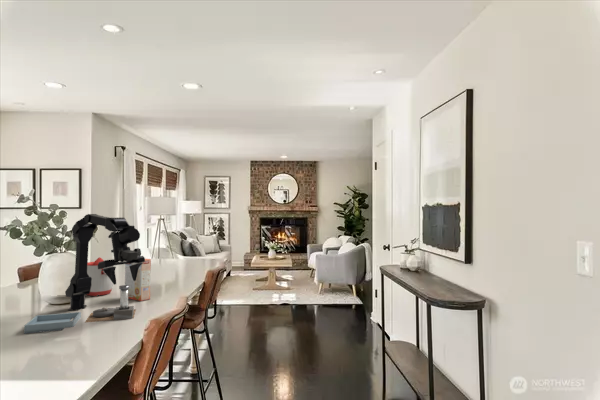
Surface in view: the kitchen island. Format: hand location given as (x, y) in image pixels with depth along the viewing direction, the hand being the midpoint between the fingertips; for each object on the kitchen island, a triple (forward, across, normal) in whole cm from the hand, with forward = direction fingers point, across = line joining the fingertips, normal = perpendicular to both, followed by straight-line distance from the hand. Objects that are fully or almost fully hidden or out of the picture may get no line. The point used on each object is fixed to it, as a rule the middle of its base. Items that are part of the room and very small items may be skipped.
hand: (125, 282), depth 158 cm
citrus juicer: (+2, +23, +56) cm, 61 cm away
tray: (+11, -20, +19) cm, 30 cm away
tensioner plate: (+13, -1, +10) cm, 17 cm away
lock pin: (+14, 0, +4) cm, 14 cm away
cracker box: (+8, +27, +31) cm, 42 cm away
